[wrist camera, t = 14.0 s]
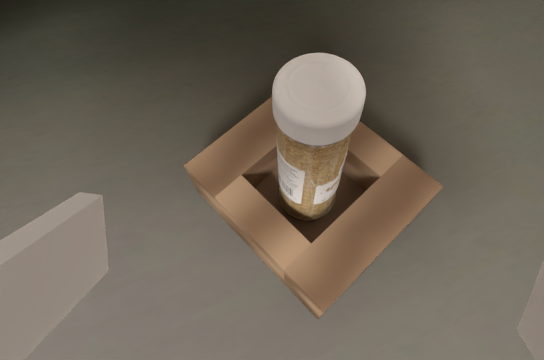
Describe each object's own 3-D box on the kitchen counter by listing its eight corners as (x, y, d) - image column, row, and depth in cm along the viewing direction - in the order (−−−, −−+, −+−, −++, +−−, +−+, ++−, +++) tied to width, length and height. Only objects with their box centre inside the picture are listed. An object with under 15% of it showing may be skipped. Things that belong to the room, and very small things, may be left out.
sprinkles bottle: (339, 219, 29) (377, 119, 17) (280, 225, 29) (276, 130, 17) (330, 166, 31) (357, 44, 19) (274, 172, 31) (267, 53, 19)
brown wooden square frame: (198, 192, 32) (184, 165, 28) (298, 110, 35) (300, 74, 31) (317, 319, 28) (323, 311, 23) (420, 211, 31) (443, 186, 26)
